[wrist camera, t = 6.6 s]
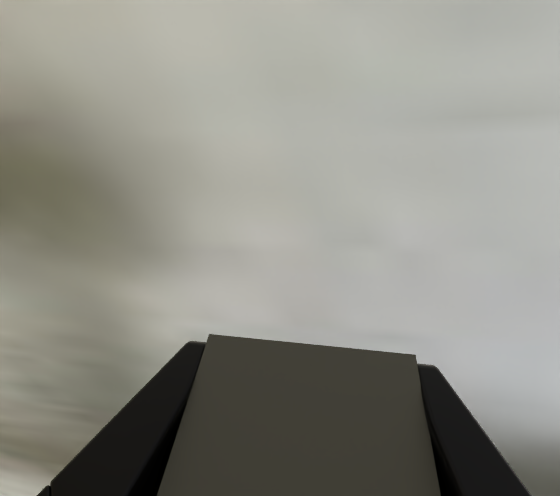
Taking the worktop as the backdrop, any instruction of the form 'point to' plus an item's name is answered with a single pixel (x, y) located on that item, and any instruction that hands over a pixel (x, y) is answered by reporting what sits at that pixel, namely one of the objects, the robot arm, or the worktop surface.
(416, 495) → the shaft
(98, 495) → the robot arm
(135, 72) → the worktop surface
